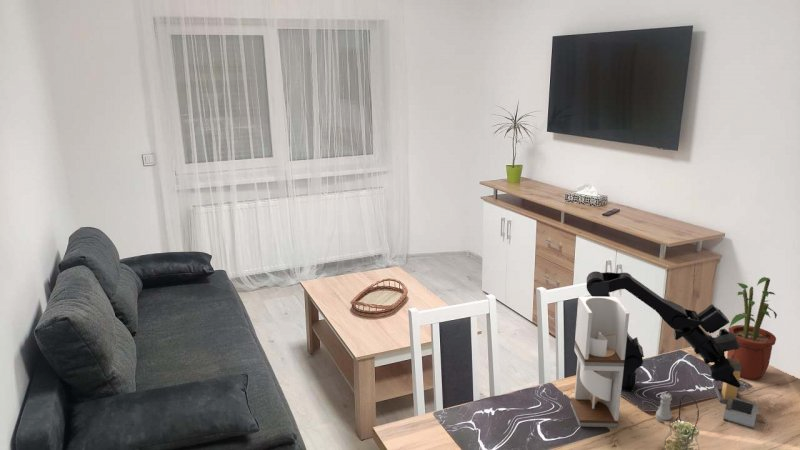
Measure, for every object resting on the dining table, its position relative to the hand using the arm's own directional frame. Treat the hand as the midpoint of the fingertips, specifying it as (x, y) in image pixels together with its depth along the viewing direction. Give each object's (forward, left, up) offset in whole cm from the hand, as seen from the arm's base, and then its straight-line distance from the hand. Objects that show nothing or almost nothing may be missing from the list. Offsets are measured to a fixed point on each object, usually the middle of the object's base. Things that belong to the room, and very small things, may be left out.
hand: (735, 378), depth 171 cm
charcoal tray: (-1, 0, -8) cm, 8 cm away
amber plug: (-1, 0, -7) cm, 7 cm away
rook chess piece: (-17, -20, -8) cm, 27 cm away
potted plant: (+1, +20, -8) cm, 21 cm away
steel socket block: (+2, -10, -8) cm, 13 cm away
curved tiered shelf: (-36, -27, -8) cm, 45 cm away
